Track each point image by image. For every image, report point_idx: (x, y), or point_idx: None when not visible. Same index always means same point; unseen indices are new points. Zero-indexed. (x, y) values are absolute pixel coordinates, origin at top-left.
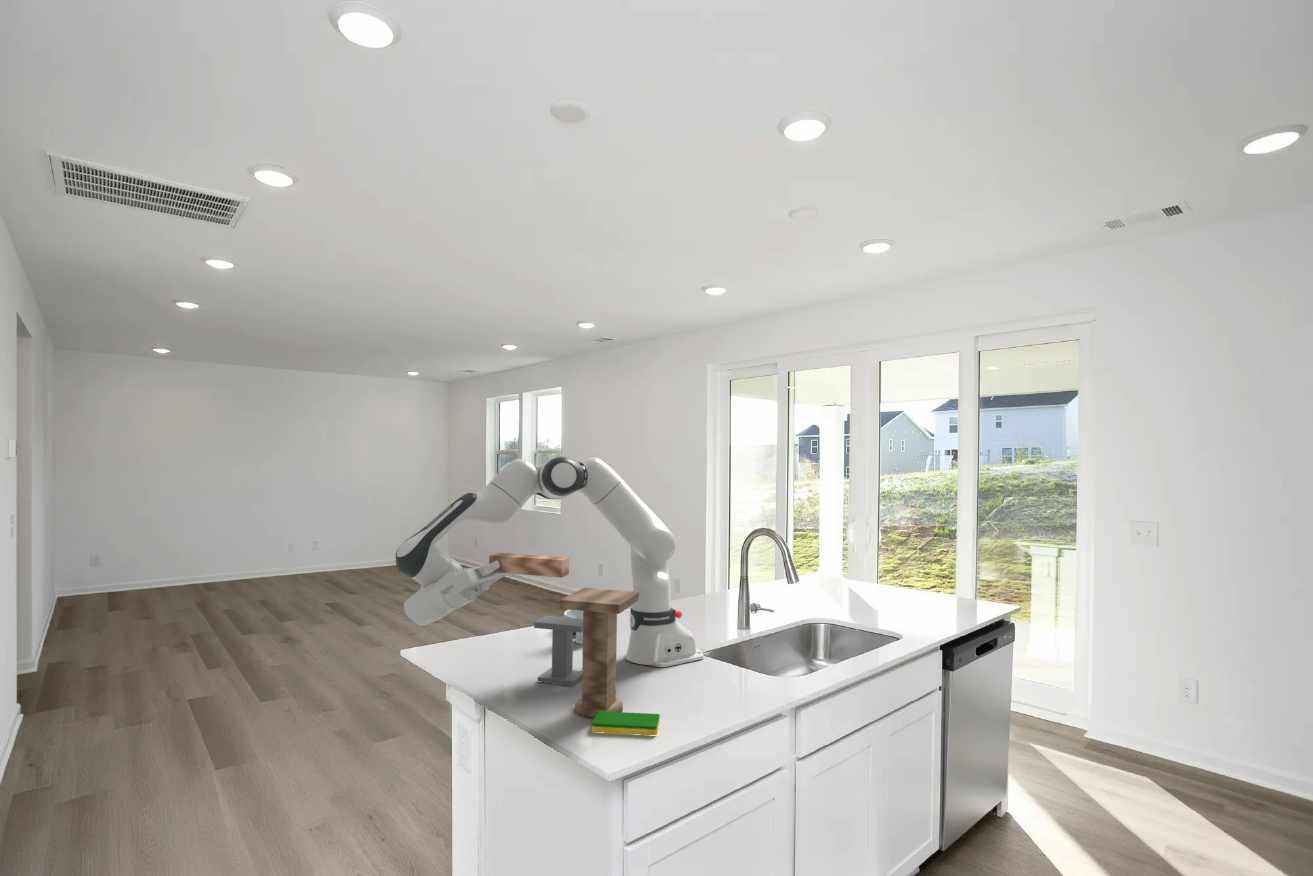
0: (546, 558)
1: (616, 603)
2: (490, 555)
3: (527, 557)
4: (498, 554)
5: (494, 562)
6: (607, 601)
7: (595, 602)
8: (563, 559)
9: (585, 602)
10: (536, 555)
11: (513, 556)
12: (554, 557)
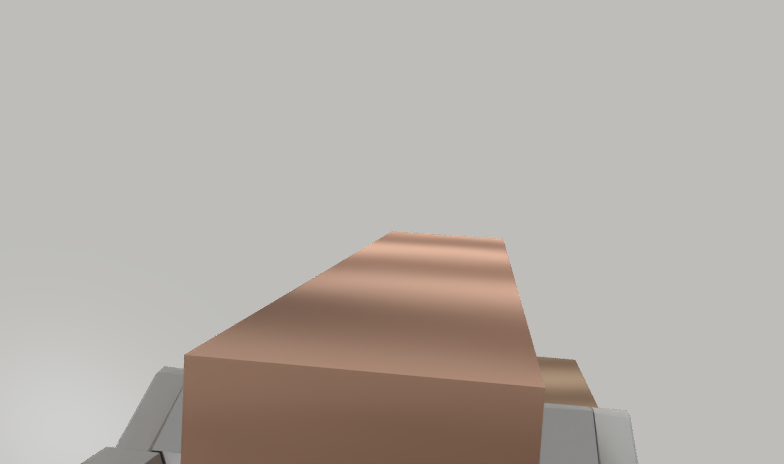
0: (478, 249)
1: (559, 362)
2: (539, 384)
3: (495, 269)
4: (399, 342)
5: (632, 449)
6: (542, 372)
7: (581, 387)
8: (473, 237)
9: (595, 403)
10: (354, 256)
11: (496, 292)
12: (415, 241)
